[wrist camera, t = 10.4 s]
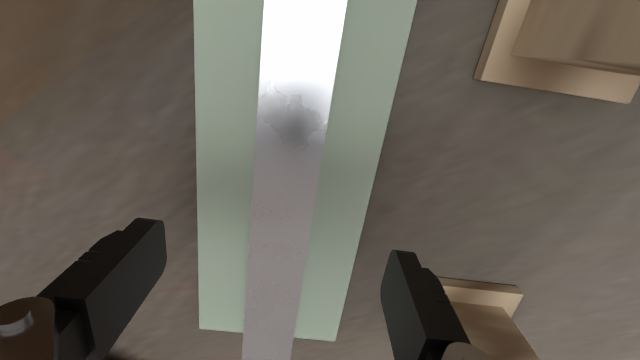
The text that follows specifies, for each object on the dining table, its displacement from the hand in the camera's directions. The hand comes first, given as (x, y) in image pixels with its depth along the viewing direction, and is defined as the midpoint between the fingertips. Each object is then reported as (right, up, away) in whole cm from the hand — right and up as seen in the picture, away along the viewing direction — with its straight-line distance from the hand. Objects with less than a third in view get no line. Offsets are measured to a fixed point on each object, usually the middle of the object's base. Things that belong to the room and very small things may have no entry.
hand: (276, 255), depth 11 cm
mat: (0, +3, +7) cm, 8 cm away
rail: (0, +3, +6) cm, 7 cm away
